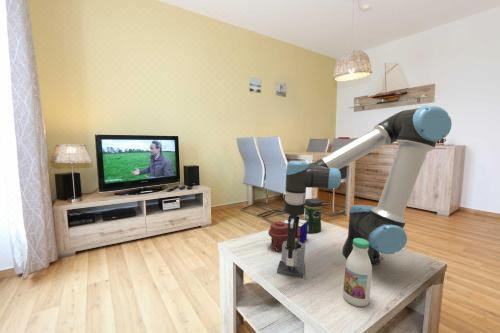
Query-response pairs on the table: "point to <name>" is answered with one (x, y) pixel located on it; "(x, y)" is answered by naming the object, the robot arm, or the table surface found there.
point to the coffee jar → (313, 214)
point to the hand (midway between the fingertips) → (291, 259)
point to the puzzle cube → (301, 230)
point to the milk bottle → (358, 274)
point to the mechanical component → (278, 234)
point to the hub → (298, 253)
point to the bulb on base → (291, 270)
